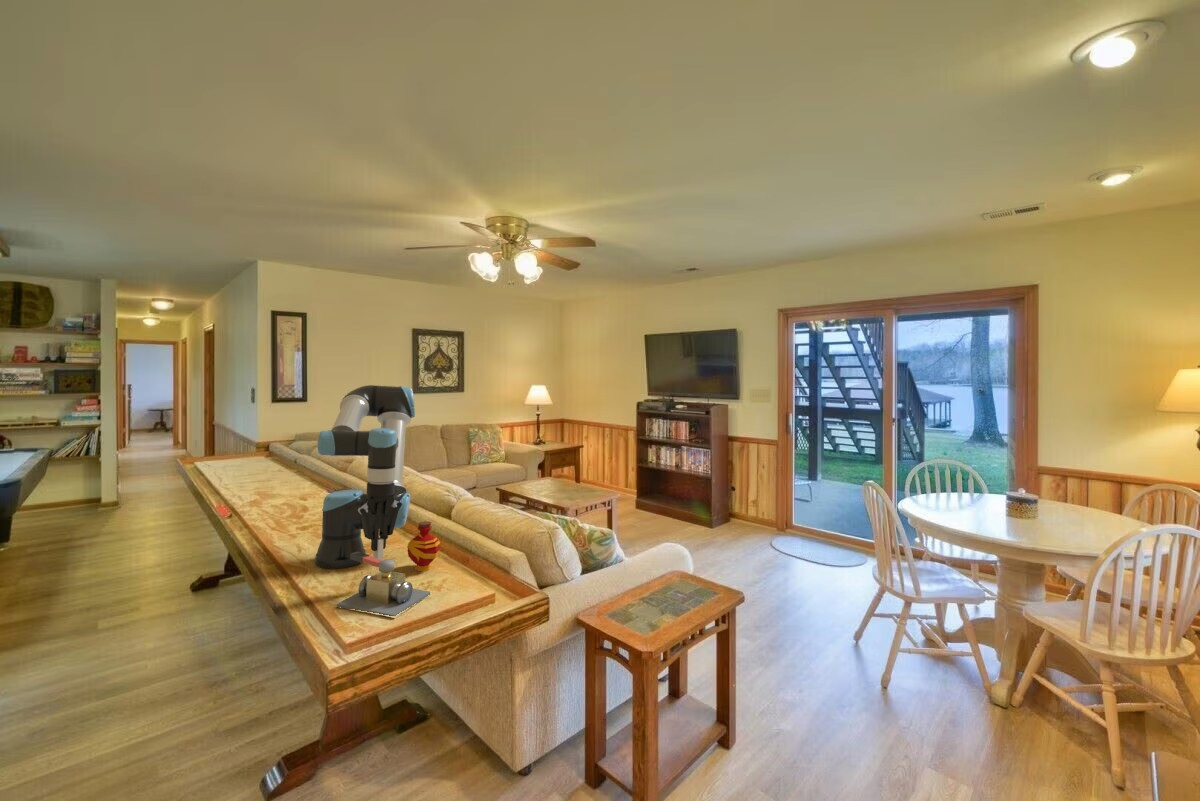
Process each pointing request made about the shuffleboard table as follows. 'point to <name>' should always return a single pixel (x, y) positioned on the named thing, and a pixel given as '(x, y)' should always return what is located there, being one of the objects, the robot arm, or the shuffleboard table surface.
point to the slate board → (390, 609)
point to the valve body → (386, 588)
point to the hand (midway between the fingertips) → (377, 560)
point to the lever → (373, 561)
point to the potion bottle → (423, 547)
